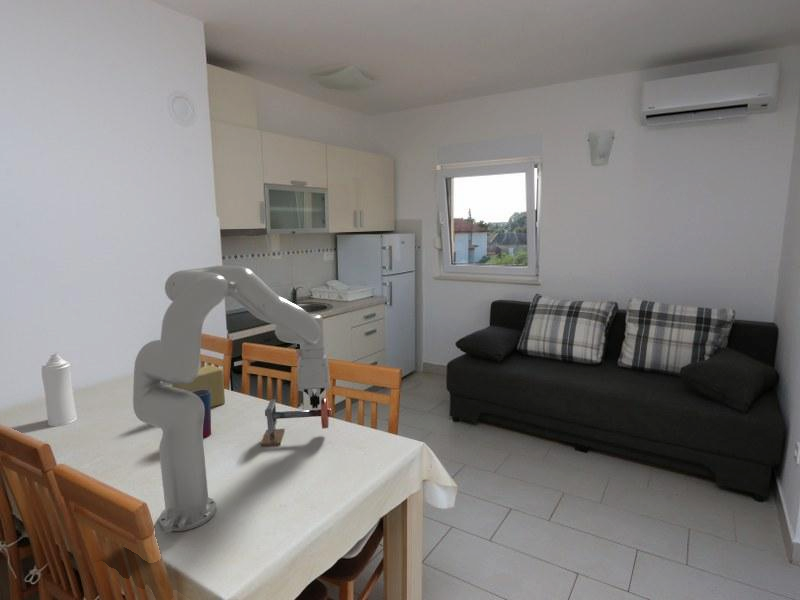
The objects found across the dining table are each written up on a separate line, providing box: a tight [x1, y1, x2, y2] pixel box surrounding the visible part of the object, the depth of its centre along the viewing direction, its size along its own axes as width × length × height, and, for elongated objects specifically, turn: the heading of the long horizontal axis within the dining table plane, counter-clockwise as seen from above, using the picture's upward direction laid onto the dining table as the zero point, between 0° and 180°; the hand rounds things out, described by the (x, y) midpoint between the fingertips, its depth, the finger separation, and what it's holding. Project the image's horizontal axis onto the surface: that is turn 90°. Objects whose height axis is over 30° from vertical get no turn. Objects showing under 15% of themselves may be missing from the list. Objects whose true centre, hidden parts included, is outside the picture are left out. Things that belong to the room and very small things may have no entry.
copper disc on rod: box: [264, 396, 333, 429], centre depth 152 cm, size 10×21×10 cm, turn 96°
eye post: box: [260, 398, 285, 447], centre depth 152 cm, size 10×6×12 cm, turn 6°
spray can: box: [41, 351, 78, 427], centre depth 169 cm, size 12×11×25 cm
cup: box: [191, 389, 212, 439], centre depth 155 cm, size 7×7×15 cm
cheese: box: [172, 364, 226, 408], centre depth 176 cm, size 22×10×15 cm, turn 144°
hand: (315, 406), depth 153 cm, fingers closed
